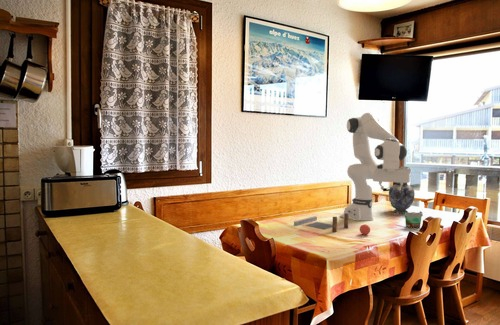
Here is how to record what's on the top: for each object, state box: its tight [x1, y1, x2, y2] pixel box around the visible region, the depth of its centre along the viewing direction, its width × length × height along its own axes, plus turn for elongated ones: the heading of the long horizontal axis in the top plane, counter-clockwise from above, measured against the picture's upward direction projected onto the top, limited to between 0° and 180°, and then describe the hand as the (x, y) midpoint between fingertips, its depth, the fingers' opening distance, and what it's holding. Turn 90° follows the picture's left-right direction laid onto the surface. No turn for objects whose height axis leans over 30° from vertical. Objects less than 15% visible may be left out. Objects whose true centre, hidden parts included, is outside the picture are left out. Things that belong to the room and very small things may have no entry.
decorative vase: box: [388, 182, 415, 214], centre depth 292 cm, size 21×19×28 cm
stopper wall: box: [293, 215, 318, 227], centre depth 249 cm, size 2×24×2 cm, turn 138°
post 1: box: [331, 216, 338, 233], centre depth 226 cm, size 3×3×9 cm
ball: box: [359, 224, 371, 236], centre depth 221 cm, size 6×6×6 cm
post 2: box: [343, 212, 350, 229], centre depth 237 cm, size 3×3×9 cm
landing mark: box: [305, 221, 332, 230], centre depth 241 cm, size 14×14×1 cm
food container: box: [404, 210, 424, 229], centre depth 241 cm, size 12×6×10 cm, turn 105°
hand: (390, 189), depth 219 cm, fingers open, 8 cm apart
